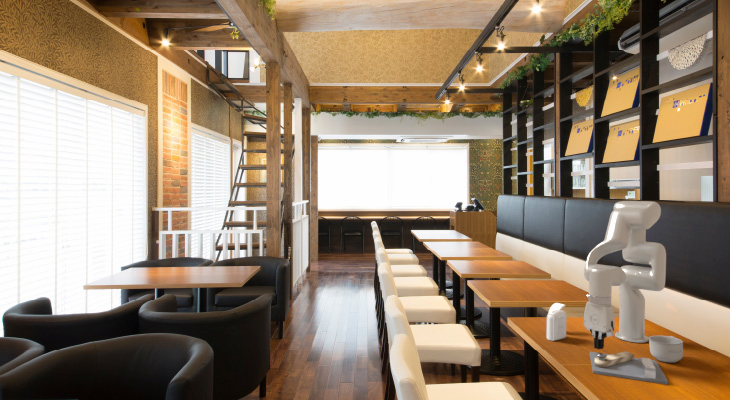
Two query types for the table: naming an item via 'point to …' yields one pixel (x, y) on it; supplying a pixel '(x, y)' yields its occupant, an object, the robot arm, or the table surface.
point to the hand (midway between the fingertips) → (598, 348)
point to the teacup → (666, 348)
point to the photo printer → (556, 325)
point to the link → (612, 359)
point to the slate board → (628, 370)
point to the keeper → (648, 368)
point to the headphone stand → (556, 307)
